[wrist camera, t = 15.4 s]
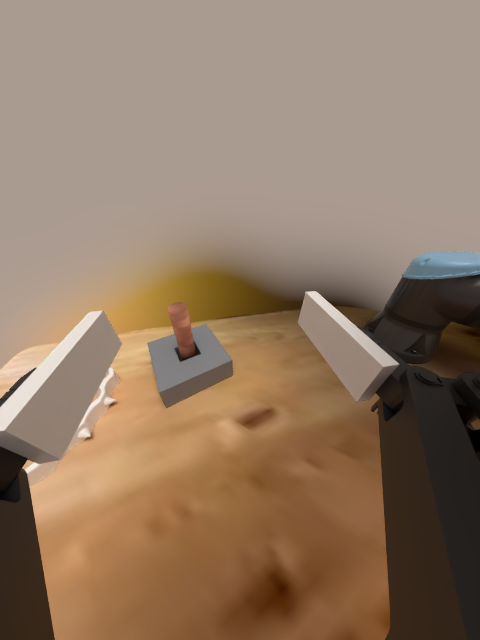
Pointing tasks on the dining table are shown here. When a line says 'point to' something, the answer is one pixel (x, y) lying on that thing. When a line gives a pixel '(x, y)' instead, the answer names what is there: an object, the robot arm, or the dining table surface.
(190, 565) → the dining table surface
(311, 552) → the dining table surface
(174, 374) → the socket block
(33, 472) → the knuckle duster
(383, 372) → the robot arm
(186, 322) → the dowel
